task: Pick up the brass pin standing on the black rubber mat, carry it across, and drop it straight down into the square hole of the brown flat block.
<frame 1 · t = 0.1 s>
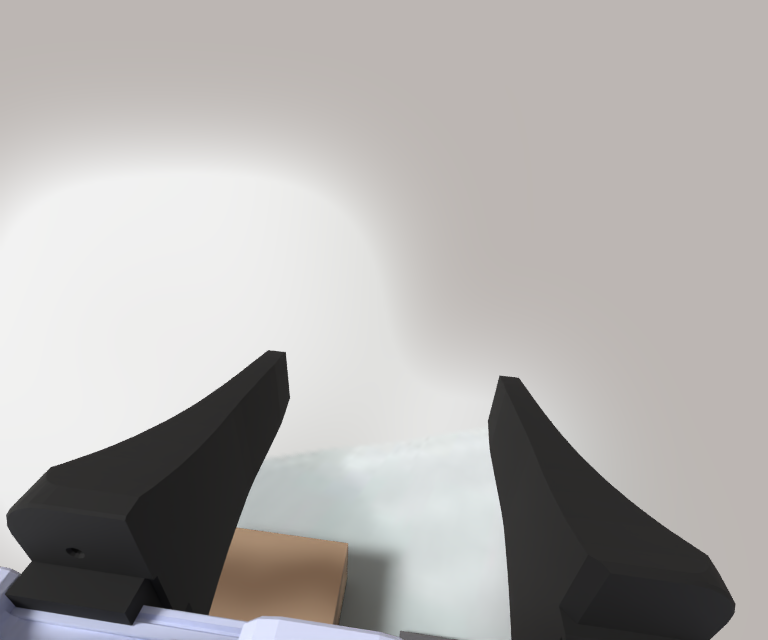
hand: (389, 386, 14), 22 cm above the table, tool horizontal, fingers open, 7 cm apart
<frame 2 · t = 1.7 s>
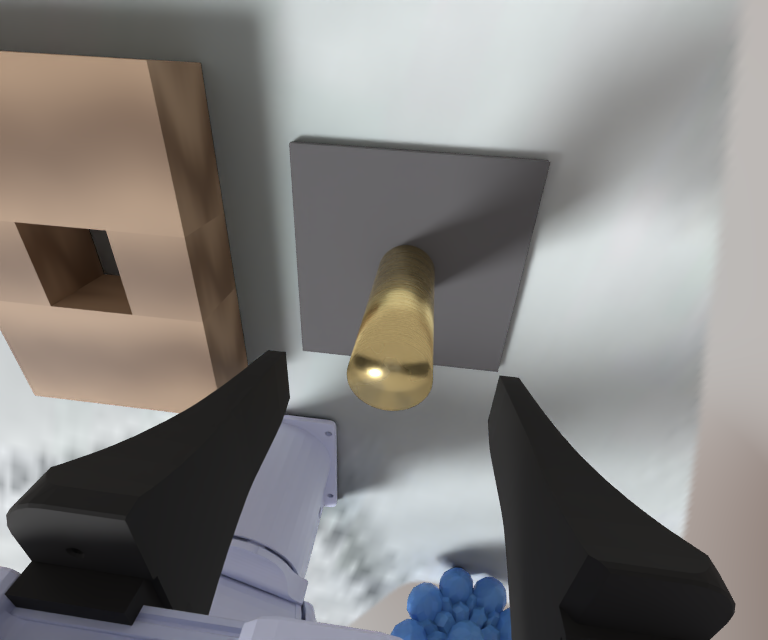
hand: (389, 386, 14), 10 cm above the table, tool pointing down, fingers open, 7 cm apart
brass pin: (406, 271, 22), point 1 cm above the table, touching rubber mat
blue lobed piece: (456, 571, 38), on the table
rubber mat: (407, 267, 22), on the table
brown flat block: (129, 242, 23), on the table
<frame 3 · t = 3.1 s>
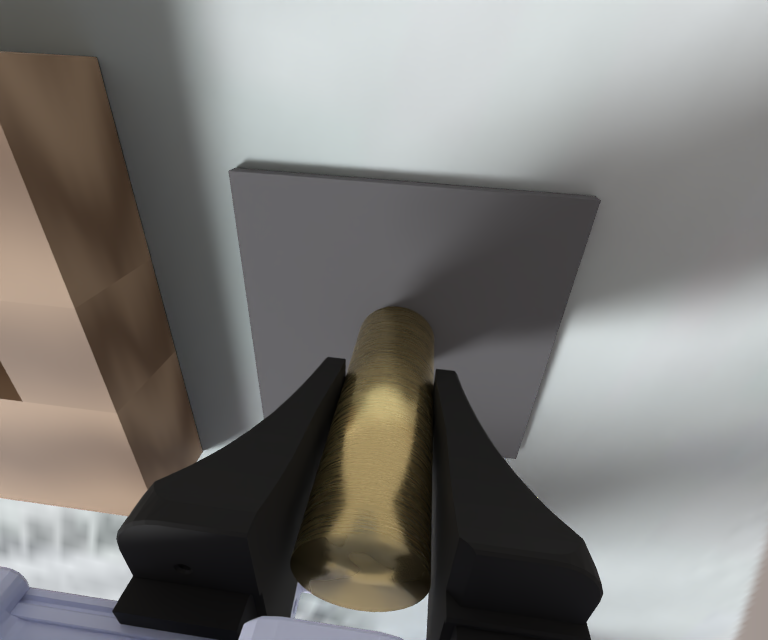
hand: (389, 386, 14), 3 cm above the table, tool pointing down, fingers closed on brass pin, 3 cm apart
brass pin: (396, 339, 16), point 1 cm above the table, touching gripper, rubber mat
rubber mat: (397, 332, 17), on the table
brown flat block: (32, 294, 18), on the table
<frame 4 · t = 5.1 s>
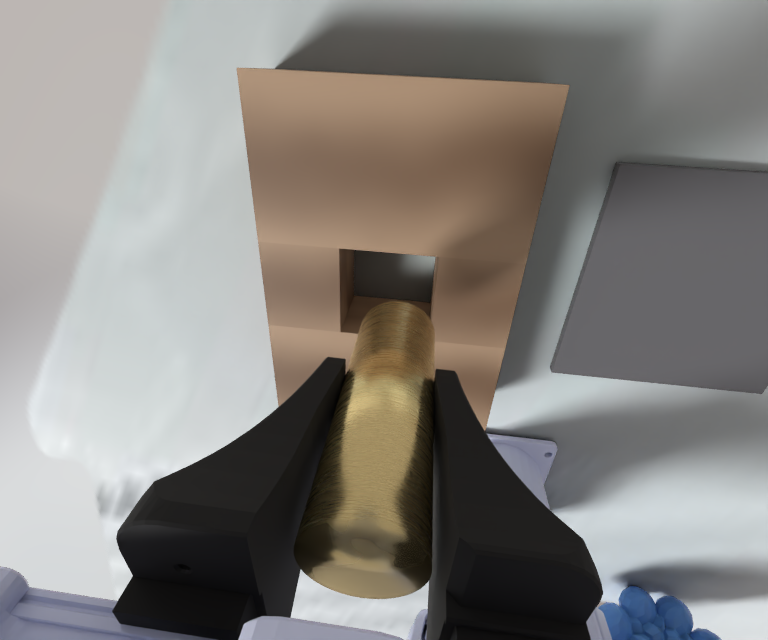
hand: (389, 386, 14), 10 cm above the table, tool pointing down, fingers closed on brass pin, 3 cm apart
brass pin: (397, 333, 16), point 7 cm above the table, touching gripper
blue lobed piece: (628, 590, 37), on the table
rubber mat: (694, 289, 22), on the table
brown flat block: (394, 263, 23), on the table
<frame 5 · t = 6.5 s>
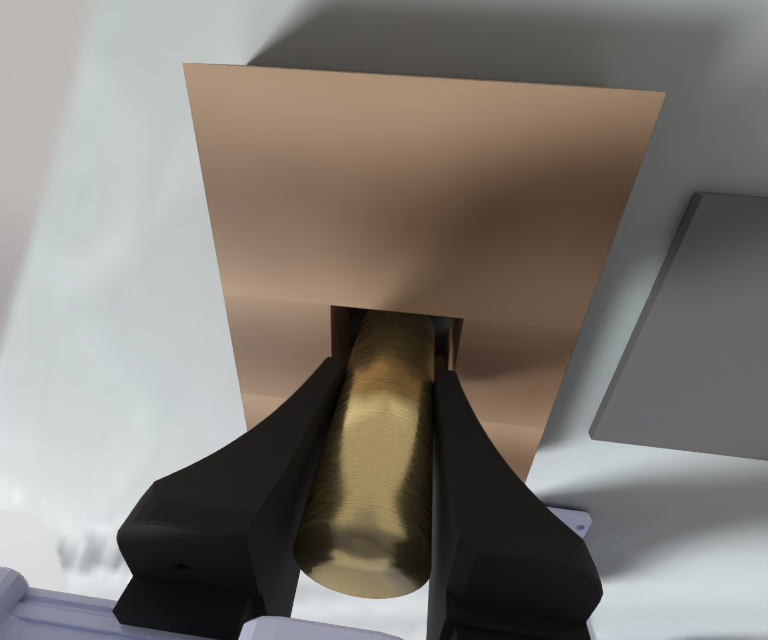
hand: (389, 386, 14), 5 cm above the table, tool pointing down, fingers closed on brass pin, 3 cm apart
brass pin: (396, 333, 16), point 2 cm above the table, touching gripper
brown flat block: (400, 310, 18), on the table
when the fingers open (5 cm above the table, at t = 7.5 s): brass pin drops 2 cm, resting in brown flat block.
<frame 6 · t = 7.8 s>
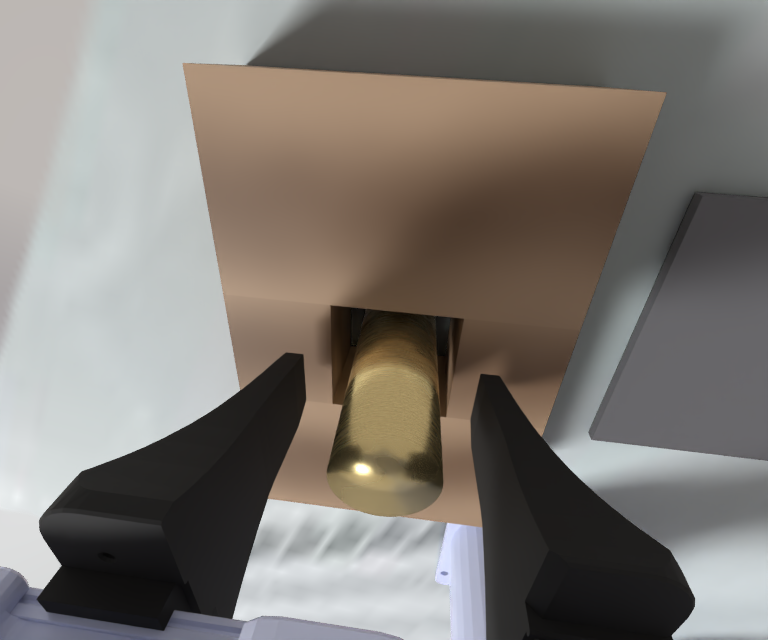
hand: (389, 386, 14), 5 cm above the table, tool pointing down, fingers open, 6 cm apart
brass pin: (400, 308, 18), resting in brown flat block
brown flat block: (400, 310, 18), on the table
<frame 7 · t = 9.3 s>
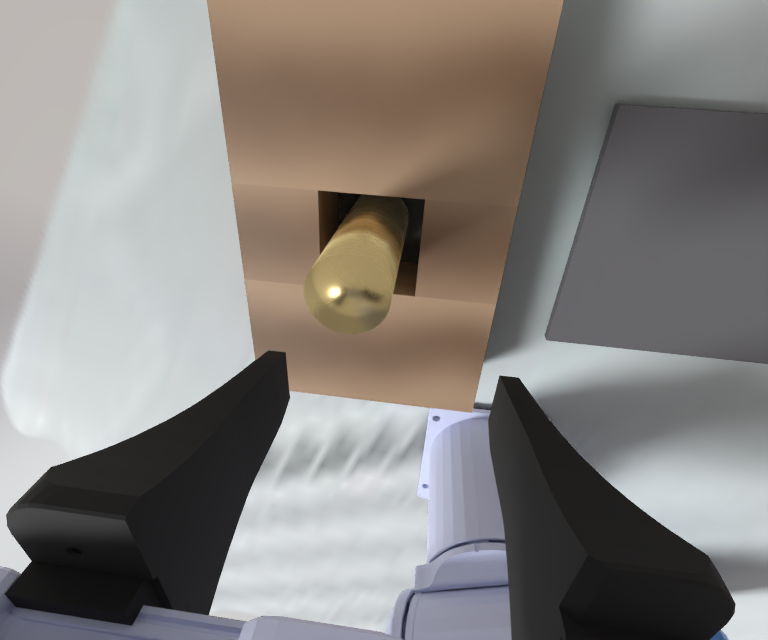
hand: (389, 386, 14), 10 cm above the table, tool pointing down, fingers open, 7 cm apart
brass pin: (380, 217, 21), resting in brown flat block
rubber mat: (698, 247, 20), on the table
brown flat block: (380, 219, 21), on the table
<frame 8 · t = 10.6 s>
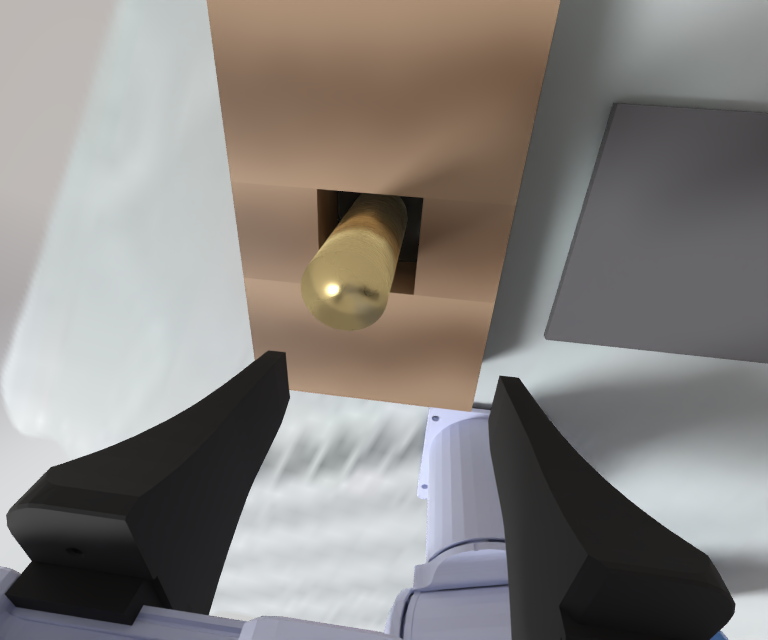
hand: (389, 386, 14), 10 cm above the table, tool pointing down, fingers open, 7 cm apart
brass pin: (379, 216, 21), resting in brown flat block
rubber mat: (697, 246, 20), on the table
brown flat block: (379, 218, 22), on the table
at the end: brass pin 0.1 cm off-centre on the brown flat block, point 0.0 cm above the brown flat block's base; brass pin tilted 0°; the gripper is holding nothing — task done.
